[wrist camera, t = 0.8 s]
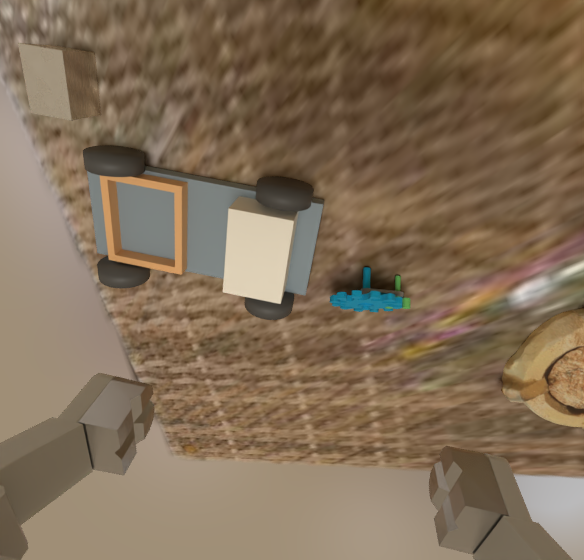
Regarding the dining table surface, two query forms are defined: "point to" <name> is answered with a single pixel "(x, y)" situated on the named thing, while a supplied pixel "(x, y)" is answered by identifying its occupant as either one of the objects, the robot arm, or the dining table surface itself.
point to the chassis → (202, 228)
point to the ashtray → (550, 370)
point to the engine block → (60, 81)
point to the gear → (372, 297)
